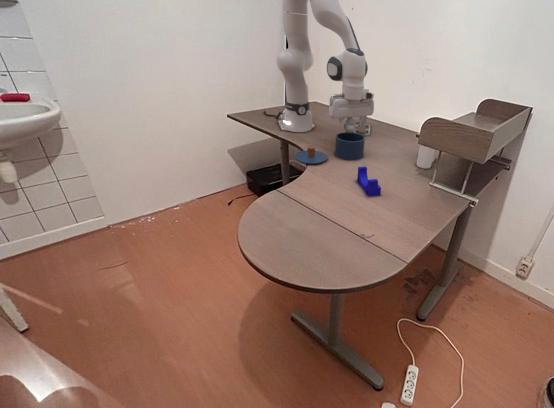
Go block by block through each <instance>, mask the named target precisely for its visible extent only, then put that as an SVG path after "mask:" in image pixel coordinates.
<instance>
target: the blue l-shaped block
mask: <svg viewBox="0 0 554 408" xmlns="http://www.w3.org/2000/svg"><path fill="white" fill-rule="evenodd" d="M356 179H357V180H356V182H357V183H358V185H359V186H360V187H361V188H362V190H363V192H364V193H365V194H366V196H367V197H368V198H369V197H379V196H381V193H382V187H381V186H380V184H379V180H378V179H377V178H371V179H369V177H368V167H367V166H357V178H356Z"/></svg>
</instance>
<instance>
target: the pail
mask: <svg viewBox="0 0 554 408" xmlns="http://www.w3.org/2000/svg"><path fill="white" fill-rule="evenodd" d="M361 134H362V133H360V134H358V132H356V133H354V132H352V133H346V132H345V131H344V132H338V133H336V134H335V137H334V155H335V157H337V158H338V159H339V160H344V161H358V160H361V159H363V157H364V152H365V143H366V142H365V141H366V138H365V136H363V135H361Z"/></svg>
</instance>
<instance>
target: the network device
mask: <svg viewBox="0 0 554 408" xmlns="http://www.w3.org/2000/svg"><path fill="white" fill-rule="evenodd" d="M364 89H365V90H367V91H369V92H370V89H366V88H364ZM367 119H368V116H364V117H363V120H362V121H361V125H360V126H358V130H357V131H354V132H353V133H358V134H361V135H363V136H364V137H368V136H371V125H369V124H367ZM366 127H367V128H366ZM366 132H367V133H366Z"/></svg>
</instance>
